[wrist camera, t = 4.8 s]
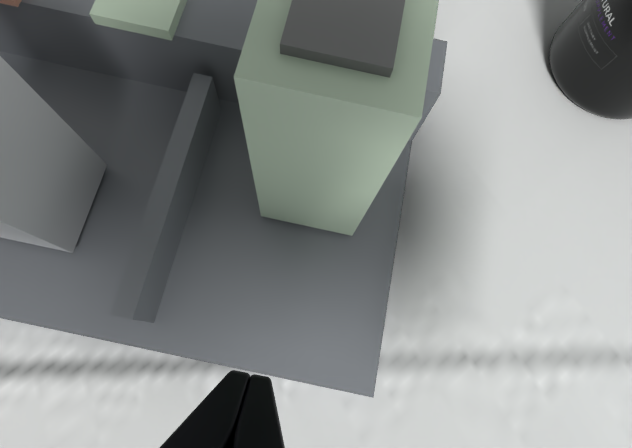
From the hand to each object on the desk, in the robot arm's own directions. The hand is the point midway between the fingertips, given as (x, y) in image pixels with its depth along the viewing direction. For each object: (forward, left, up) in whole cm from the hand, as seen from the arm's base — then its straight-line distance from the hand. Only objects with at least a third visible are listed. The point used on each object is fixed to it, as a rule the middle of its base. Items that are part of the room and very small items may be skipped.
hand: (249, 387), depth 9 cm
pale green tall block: (+8, +2, -8) cm, 11 cm away
